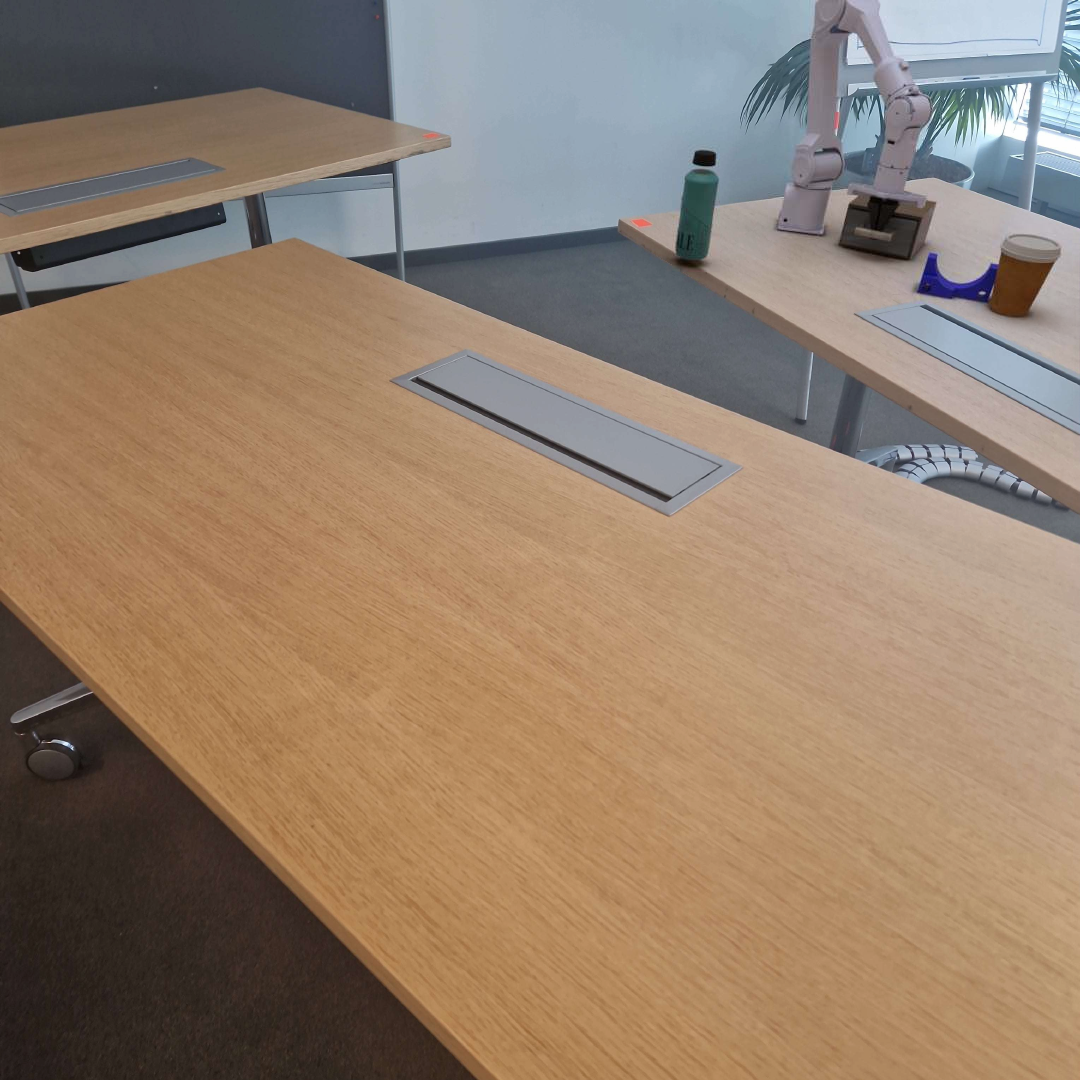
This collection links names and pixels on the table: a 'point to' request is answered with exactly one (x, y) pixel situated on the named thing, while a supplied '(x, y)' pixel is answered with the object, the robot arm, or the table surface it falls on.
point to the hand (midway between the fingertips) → (874, 238)
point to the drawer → (879, 233)
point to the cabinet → (904, 211)
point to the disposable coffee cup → (1022, 272)
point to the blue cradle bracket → (949, 289)
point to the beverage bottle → (697, 208)
